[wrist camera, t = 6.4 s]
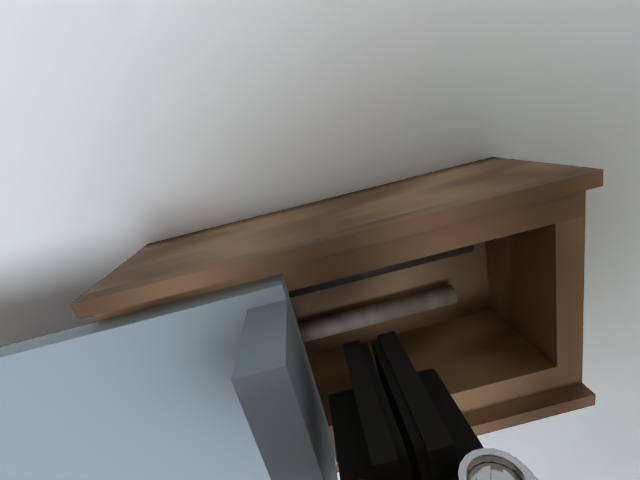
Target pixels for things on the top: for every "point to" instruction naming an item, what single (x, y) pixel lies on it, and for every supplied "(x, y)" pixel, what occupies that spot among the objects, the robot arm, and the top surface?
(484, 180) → the pencil box
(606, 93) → the top surface
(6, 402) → the lid
